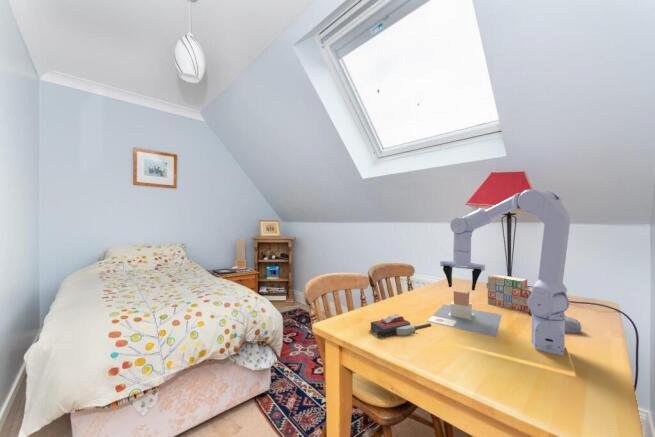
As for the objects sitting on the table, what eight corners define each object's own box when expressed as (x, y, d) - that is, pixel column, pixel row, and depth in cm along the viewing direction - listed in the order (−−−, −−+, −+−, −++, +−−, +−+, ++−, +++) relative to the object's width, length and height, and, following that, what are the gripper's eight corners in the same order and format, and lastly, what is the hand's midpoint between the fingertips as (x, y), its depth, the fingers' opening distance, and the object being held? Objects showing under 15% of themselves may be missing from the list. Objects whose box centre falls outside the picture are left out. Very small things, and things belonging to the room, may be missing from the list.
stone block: (550, 337, 88) (586, 334, 87) (547, 322, 89) (582, 318, 87) (530, 325, 100) (561, 322, 98) (527, 311, 100) (558, 308, 99)
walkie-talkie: (384, 342, 80) (433, 330, 89) (384, 326, 80) (433, 316, 89) (366, 331, 88) (413, 321, 97) (366, 317, 88) (413, 308, 97)
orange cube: (467, 306, 98) (467, 293, 98) (453, 303, 100) (453, 291, 100) (469, 303, 101) (469, 291, 101) (456, 300, 104) (456, 289, 104)
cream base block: (468, 318, 97) (469, 307, 97) (450, 314, 100) (450, 303, 100) (471, 313, 102) (471, 303, 102) (453, 310, 105) (454, 300, 105)
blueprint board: (496, 339, 82) (496, 336, 82) (426, 324, 93) (426, 321, 93) (501, 317, 101) (501, 314, 101) (443, 306, 113) (443, 304, 113)
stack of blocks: (556, 317, 103) (556, 283, 103) (550, 320, 99) (550, 285, 99) (493, 302, 120) (494, 273, 120) (487, 304, 116) (487, 275, 116)
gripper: (486, 251, 100) (485, 289, 100) (443, 248, 108) (443, 283, 108) (483, 253, 94) (483, 293, 94) (439, 249, 103) (438, 286, 103)
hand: (461, 288), depth 101 cm, fingers open, 7 cm apart
